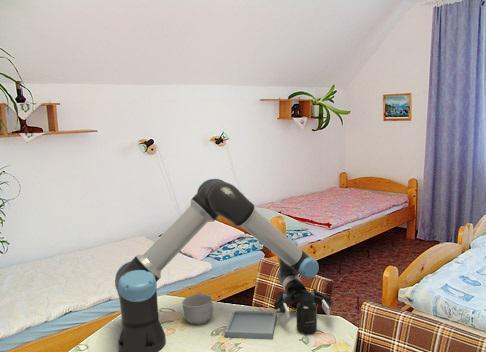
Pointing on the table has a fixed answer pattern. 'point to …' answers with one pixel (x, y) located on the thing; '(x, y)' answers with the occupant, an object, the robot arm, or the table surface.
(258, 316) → the tray
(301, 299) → the supplement bottle
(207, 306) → the teacup
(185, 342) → the table surface
